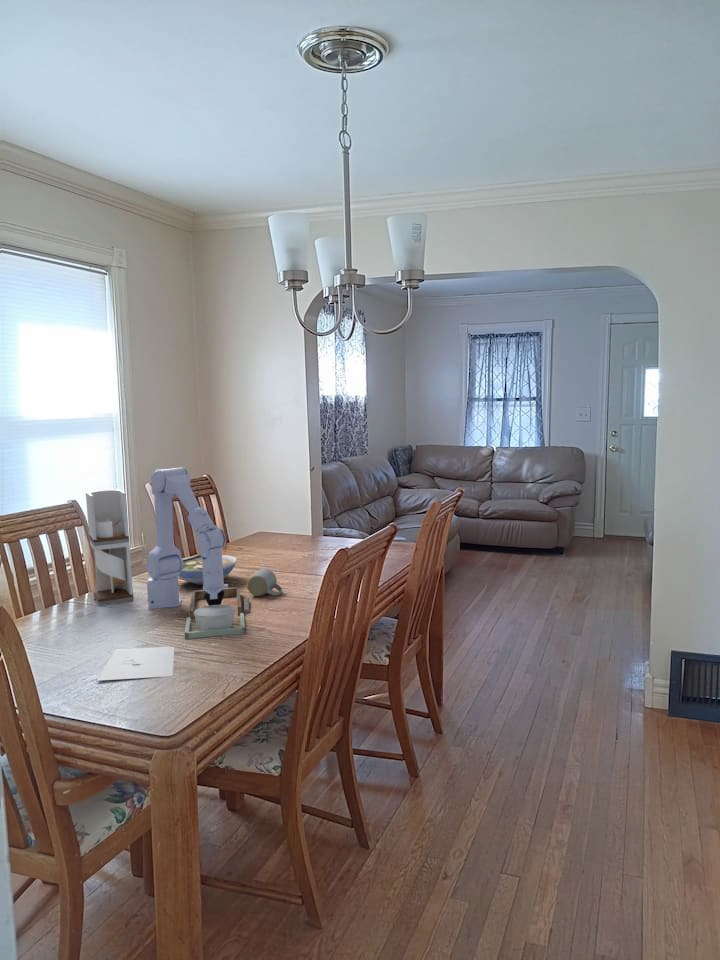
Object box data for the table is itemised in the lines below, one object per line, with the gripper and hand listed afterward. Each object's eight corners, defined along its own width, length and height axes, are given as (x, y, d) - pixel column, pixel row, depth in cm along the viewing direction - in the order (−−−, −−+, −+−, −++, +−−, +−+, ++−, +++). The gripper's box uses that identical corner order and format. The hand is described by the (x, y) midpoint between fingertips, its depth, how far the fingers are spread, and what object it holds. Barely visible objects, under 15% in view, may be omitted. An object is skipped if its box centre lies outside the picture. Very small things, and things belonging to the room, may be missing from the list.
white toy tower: (93, 597, 238) (85, 492, 234) (127, 592, 243) (119, 489, 238) (98, 605, 228) (90, 495, 224) (133, 600, 233) (125, 492, 228)
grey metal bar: (244, 614, 215) (244, 609, 215) (244, 602, 227) (244, 598, 227) (249, 613, 216) (248, 609, 215) (249, 602, 227) (248, 598, 227)
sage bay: (184, 638, 194) (184, 633, 194) (187, 622, 207) (187, 617, 207) (245, 633, 197) (244, 627, 197) (243, 617, 210) (243, 612, 210)
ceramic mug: (246, 597, 232) (245, 573, 231) (255, 590, 240) (255, 567, 239) (277, 598, 230) (276, 575, 229) (285, 591, 238) (285, 569, 237)
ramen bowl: (198, 595, 235) (197, 571, 234) (155, 586, 249) (153, 563, 248) (254, 578, 255) (252, 556, 254) (210, 570, 269) (209, 549, 268)
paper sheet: (118, 648, 189) (118, 644, 189) (230, 647, 190) (230, 643, 190) (89, 684, 165) (89, 679, 165) (217, 682, 167) (216, 677, 166)
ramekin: (231, 619, 209) (230, 601, 208) (239, 630, 199) (238, 612, 198) (192, 625, 205) (190, 607, 204) (198, 637, 195) (197, 618, 194)
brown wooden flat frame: (189, 619, 210) (189, 611, 210) (192, 598, 233) (192, 590, 232) (241, 615, 213) (241, 606, 213) (239, 594, 235) (239, 587, 235)
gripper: (227, 576, 201) (229, 623, 203) (226, 564, 215) (229, 608, 217) (201, 577, 200) (204, 625, 201) (202, 565, 214) (205, 610, 216)
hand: (215, 616), depth 209 cm, fingers closed
